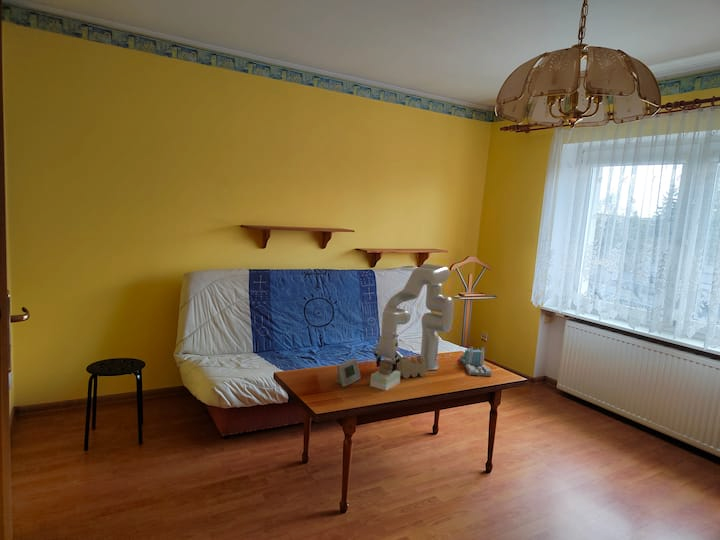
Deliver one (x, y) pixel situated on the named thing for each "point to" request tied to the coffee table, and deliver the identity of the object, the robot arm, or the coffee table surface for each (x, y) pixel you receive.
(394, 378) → the base brick
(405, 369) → the toy train
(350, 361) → the digital clock
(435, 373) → the coffee table surface
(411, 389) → the coffee table surface
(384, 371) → the walnut brick
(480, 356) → the truck
